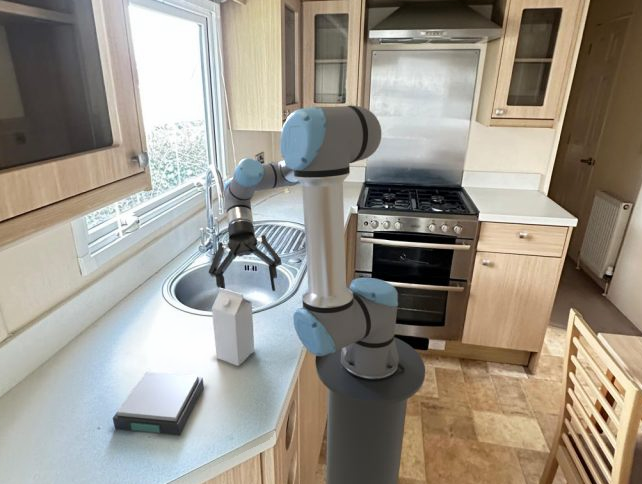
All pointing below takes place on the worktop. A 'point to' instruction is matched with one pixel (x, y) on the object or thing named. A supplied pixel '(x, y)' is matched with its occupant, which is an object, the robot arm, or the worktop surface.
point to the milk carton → (233, 327)
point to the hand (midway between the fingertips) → (248, 293)
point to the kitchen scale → (159, 403)
